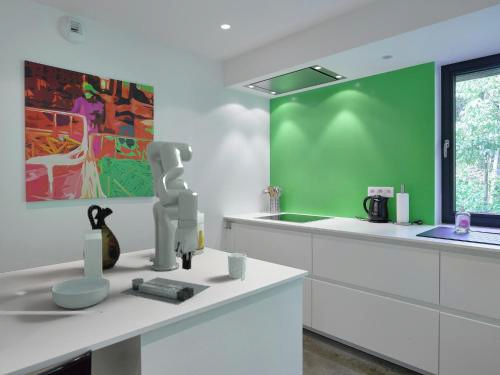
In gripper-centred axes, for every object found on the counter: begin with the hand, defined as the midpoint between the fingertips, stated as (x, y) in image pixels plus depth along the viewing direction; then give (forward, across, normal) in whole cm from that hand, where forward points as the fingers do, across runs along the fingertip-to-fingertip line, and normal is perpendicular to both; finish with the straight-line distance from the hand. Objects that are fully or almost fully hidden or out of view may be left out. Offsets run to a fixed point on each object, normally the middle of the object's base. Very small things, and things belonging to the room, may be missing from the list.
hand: (186, 268), depth 128 cm
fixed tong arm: (+5, +16, +2) cm, 16 cm away
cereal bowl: (+7, +32, -18) cm, 38 cm away
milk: (+8, +18, -31) cm, 37 cm away
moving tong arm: (+5, +14, -1) cm, 15 cm away
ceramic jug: (+9, +1, -47) cm, 48 cm away
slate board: (+6, +10, -1) cm, 12 cm away
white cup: (+6, -16, +14) cm, 22 cm away
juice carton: (+10, -46, -28) cm, 54 cm away
